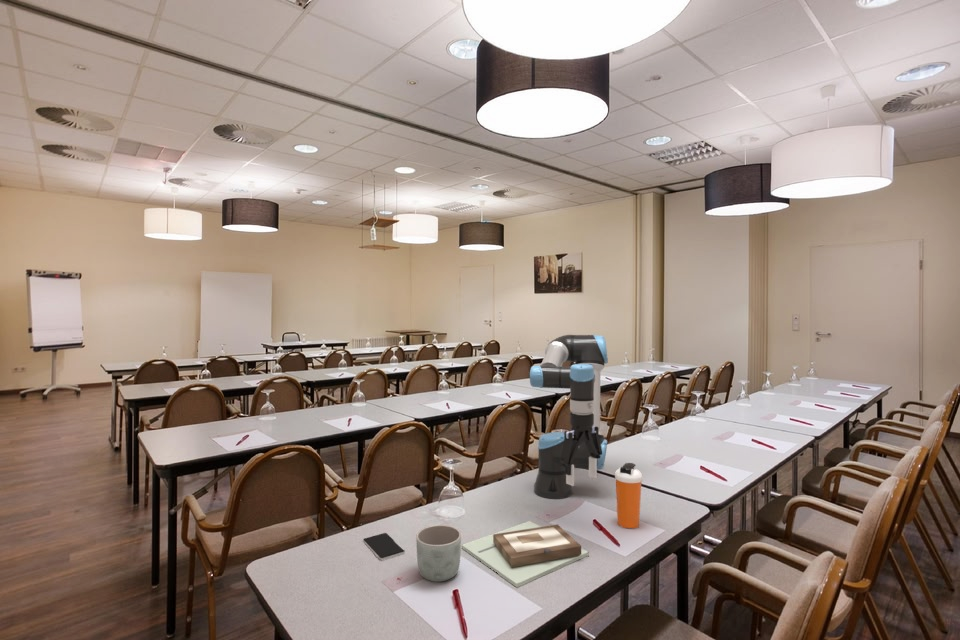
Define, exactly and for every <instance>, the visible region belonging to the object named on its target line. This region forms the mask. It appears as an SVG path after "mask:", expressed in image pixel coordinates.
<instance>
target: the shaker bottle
mask: <svg viewBox="0 0 960 640" xmlns="http://www.w3.org/2000/svg"><path fill="white" fill-rule="evenodd" d="M635 467H636V464H635V463H633V462H625V463H624V464H623V465H622V466H620V467H619V468H618V469H616V471H615V472H614V479H615V491H616V494H615V495H616V496H615V497H616V519H617V525H618V526H620V527H621V528H624V529H630V528H632V529H637V528H639V526H640V515H641V496H642V482H643V474H642V473H641V471H640V470H639V469H637V468H635Z"/></svg>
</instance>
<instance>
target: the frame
mask: <svg viewBox="0 0 960 640" xmlns="http://www.w3.org/2000/svg"><path fill="white" fill-rule="evenodd" d="M492 534H493V543H494V544H495V545H496V547H497V548H498V549H499V551H500V552H501V554H502V555H503V556H504V558H505V559H506V560H507V562H508V563H509V564H510V566H511V567H515V566H521V565H526V564H532V563H537V562H543V561H548V560H554V559H559V558H565V557H570V556H576V555H581V548H582V545H581V544H580V543H579V542H578V541H577V540H576V539H575V538H573V536H571V535H570V533H568V532H567V531H566V530H565V529H563V528H562V527H561V526H560V525H559V524H557V523H556V524H552V525H551V524H549V525H545V526H540V527H537V528H531V529H524V530H518V531H512V532H505V533H499V534H494V533H492Z"/></svg>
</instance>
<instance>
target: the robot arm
mask: <svg viewBox="0 0 960 640" xmlns="http://www.w3.org/2000/svg"><path fill="white" fill-rule="evenodd" d="M608 359H609V358H608V350H607V344H606V338H605V336H603V335H599V334H598V335H597V334H596V335H595V334H565V335H561V336H558V337H556V338H554V339H553V340H551V341H550V342H549V343H548V344H547V345H546V347H545V349H544V357H543V359H542V362H541V363H540V365H532V366H531V367H530V370H529V383H530V386H531V387H532V388H539V389H565V390H568V389H569V390H570V391H569V392H570V393H569V394H570V395H569V396H570V397H569V411H570V413H569V423H570V425H571V430H570V431H566V430H565V431H564V432H563V431H553V432H547V433H545V434H542V435H540V437H539V438H538V446H537V449H538V472H537V475H536V480H535V482H534V485H533V492H534V493H535V494H536V495H537V496H539V497H542V498H545V499H556V500H557V499H558V500H559V499H565V498H568V497H571V496H572V495H573V487H574V486H575V469H579V470H580V469H582V470H588V477H589V478H592V479H597V478H598V476H597V475H598V473H597V472H598V471H601V470H602V469H603V468H604V467H605V464H606V463H605V462H606V455H607V448H608V440H607V439H605V437H604V434H603V432H602V431H601V429H600V428H601V372H602V370H604V368H605V365H606V364H608V363H609V360H608ZM564 363H575V364H572V365H570V366H563V364H564Z"/></svg>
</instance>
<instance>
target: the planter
mask: <svg viewBox="0 0 960 640" xmlns="http://www.w3.org/2000/svg"><path fill="white" fill-rule="evenodd" d="M415 539H416V540H415V542H416V543H415V544H416V557H417V562H416V563H417V569H418V572H419V573H420V576H422V577H423V578H424V579H426V580H427V581H431V582H434V583H435V582H436V583H437V582H438V583H440V582H444V581H445V582H446V581H447V580H450V579H452V578H454V577H455V576H456V575H457V573H458V572H459V569H460V564H461V551H462V532H461V531H460V530H459V528H456V527H454V526H452V525H445V524H444V525H443V524H434V525H430V526H427V527H424V528H422V529H420V530H419V531H418V532H417V534H416V537H415Z"/></svg>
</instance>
